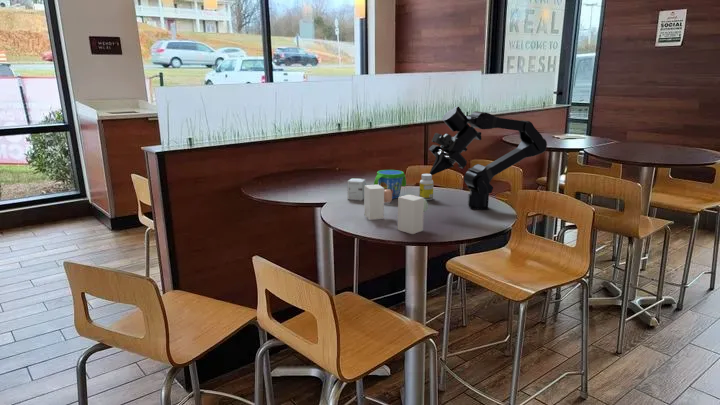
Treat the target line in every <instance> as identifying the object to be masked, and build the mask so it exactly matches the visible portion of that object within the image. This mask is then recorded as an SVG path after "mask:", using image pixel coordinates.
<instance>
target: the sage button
mask: <svg viewBox="0 0 720 405" xmlns="http://www.w3.org/2000/svg"><path fill="white" fill-rule="evenodd" d="M428 209H429V205H428V200H425V199H424V212H423V213H425V212H427V210H428Z"/></svg>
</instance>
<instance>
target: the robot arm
mask: <svg viewBox="0 0 720 405" xmlns="http://www.w3.org/2000/svg"><path fill="white" fill-rule="evenodd" d="M441 119H442V121H443V122H444V124H445V125H446V126H447V127H448V128H449V129H450V131H452V132H456V134H455V135H454V136H452V135H451V134H448V133H445V134H444V135H443V134H441V133H438V132H434V134H433V137H432V139H431V142H432V143H436V144H432V145H431V146H430V147H429V148H428V151H430V152H431V154H433V156H434V157H435V160H434V163H433V165H432V167H431V169H430V170H429V174H431V175H432V176H434V175H436V174H438V173H441V172H443V171H445V170H448V169H450V168H454V167H455V166H454V164H455V163H457V164H458V166H457V167H458V168H460V169H464V168H465V167H466V166H467V163H468V162H467V159H466V158H465V157H464V156H463V155H462V153H463V152H467V151H468V148H467V147H468V146H469V145H470V144H471V143H472V142H473V141H474V140H477V141H478V140H479V141H482V131H477V130H476V129H478V130H492V129H503V130H504V129H505V130H512V131H517V132H518V133H519V140H520V143H519V144H518V146H517V147H516V148H513V150H511V151H509V152H507V153H506V154H504V155H502V156H500V157H499V158H497V159H496V160H494V161H492V162H490V163H488V164H486V165H482V164H479V163H477V164H475V165H473V166H472V167H471V168H467V169H468V170H467V171H466V172H465V173H464V178H463V180H464V183H465V184H466V186H467V189H468V190H469V193H468V195H467V205H468V207H469V209H470V210H490V207H489V200H490V199H489V198H490V197H489V195H490V194H492V192H493V189H494V187H493V185H492V184H491V181H492V179H494V177H495V176H497V175H498V174H501V173H502V172H504V171H505V170H507V169H509V168H511V167H512V166H514V165H515V164H517V163H519V162H521V161H522V160H524V159H526V158H530V157H531V158H532V157H536V156H538V155H539V156H540V155H541V154H544V152H546V150H547V147H548V143H547V140H546V138H544V137H543V135H542V133H540V132H539V130H537V128H536V127H535V126H534V124H533V122H531V121H529V120H524V119H523V120H522V119H519V120H518V119H511V118H503V117H499V116H496V115H494V114H491V113H489V112H484V111H479V110H476V111H473V112H472V113H471V114H470V115H469V114H468V115H466V114H465V113H464V112H463V111H462V109H461V108H460V106H457V105H456V106H454V107H453V108H451V109H449V110H448V111H446V112H445V113H444V114H443V115H442V118H441ZM437 144H438V145H437Z"/></svg>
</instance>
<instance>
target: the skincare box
mask: <svg viewBox="0 0 720 405" xmlns="http://www.w3.org/2000/svg"><path fill="white" fill-rule="evenodd" d="M364 185H367V179H366V178H350V179H349V180H347V200H352V201H363V200H364Z"/></svg>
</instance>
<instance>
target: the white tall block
mask: <svg viewBox="0 0 720 405" xmlns="http://www.w3.org/2000/svg"><path fill="white" fill-rule="evenodd" d="M363 200H364V201H363V202H364V203H363V206H364V207H363V208H364V212H363V215H364V216H365V217H366V218H367V220H369V221H372V220H374V221H375V220H382V219H384V218H385V203H384V188H383V187H382V186H380V185H379V183H378V184H377V185H374V184H366V185H364V199H363Z"/></svg>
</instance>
